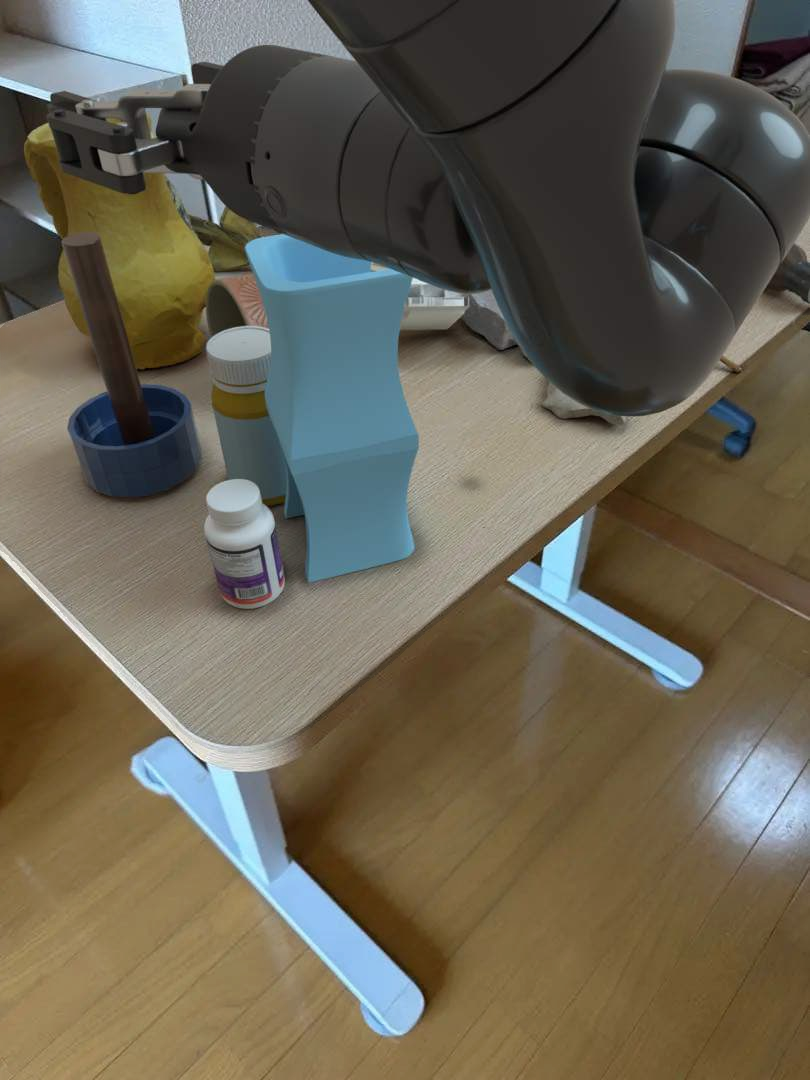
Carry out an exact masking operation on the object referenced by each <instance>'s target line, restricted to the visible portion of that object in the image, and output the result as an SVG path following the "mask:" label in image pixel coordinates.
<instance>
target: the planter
mask: <svg viewBox="0 0 810 1080" xmlns="http://www.w3.org/2000/svg"><path fill="white" fill-rule="evenodd" d="M205 315H206V323H207V327H208V333H209V337H210V339H211V338H212V337H213V336H214V335H216V334H218V333H219V332H222V331H224V330H227V329H230V328H235V327H241V326H260V327H265V328H268V329H269V326H268V321H267V316H266V313H265V309H264V305H263V302H262V298H261V295H260V292H259V289H258V286H257V283H256V280H255V277H254V275H253V272H251V273H246V274H240V275H239V274H238V275H234V276H229V277H224V278H218V279H216V280H214V281H212V282H211V283H210V285H209V287H208V289H207V294H206V307H205Z"/></svg>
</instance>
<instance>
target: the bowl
mask: <svg viewBox="0 0 810 1080" xmlns="http://www.w3.org/2000/svg"><path fill="white" fill-rule="evenodd" d="M140 384H141V383H140ZM141 387H142V391H143V394H144V398H145V402H146V405H147V409H148V413H149V416H150V420H151V424H152V427H153V431H154V434H155V438H154V439H151V440H147V441H144V442H141V443H138V444H132V445H124V444H123V441H122V438H121V434H120V431H119V428H118V425H117V421H116V418H115V415H114V412H113V408H112V405H111V402H110V399H109V395H108V392H107V390H106V391H104V392H101V393H99V394H98V395H95V396H93V397H91V398H89V399H87V400H86V401H85V402H84V403H82V404H80V405H79V406H77V408H76V409H75V410H74V411H73V412H72V414H71V415H70V417H69V419H68V423H67V427H66V428H67V433H68V435H69V437H70V440H71V443H72V446H73V449H74V452H75V454H76V456H77V460H78V463H79V465H80V468H81V471H82V474H83V476H84V478H85V481H86V483H87V485H88V486H89V487H91V488H92V489H93V490H95V491H96V492H97V493H101V494H103V495H106V496H110V497H114V498H115V497H116V498H117V497H118V498H141V497H147V496H152V495H156V494H160V493H162V492H165V491H167V490H170V489H171V488H174V487H175V486H177V485H179V484H181V483H183V482H184V481H186V480H187V479H188V478H189V477H190V476H191V475H192V474H194V472H195V471H196V470H197V468H198V466H199V464H200V463H201V461H202V445H201V442H200V438H199V437H200V436H199V434H198V430H197V425H196V420H195V417H194V412H193V408H192V404H191V402H190V400H189V399H188V396H186V394H184V393H183V392H181V391H179V390H177V389H175V388H173V387H169V386H165V385H161V384H147V383H146V384H144V383H143V384H141Z"/></svg>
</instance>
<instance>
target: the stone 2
mask: <svg viewBox="0 0 810 1080" xmlns="http://www.w3.org/2000/svg"><path fill="white" fill-rule="evenodd" d="M546 389H547V390H546V393H547V394H546V395H547V396H546V398H545V399H544V400H543V401H542V406H543V407H544V408H545V409H547V410H549V411H551V412H552V413H553V414H554V415H555V416H557V418H560V419H564V420H565V419H572V418H582V417H589V416H595V417H601V418H602V419H603V420H605V421H606V422H608V423H610V424H613V425H615V426H619V425H624V424H626V421H627V417H628V416H616V415H610V414H606V413H603V412H599V411H596V410H593V409H591V408H588V407H586V406H583V405H582V404H580V403H578V402H576V401H574V400H573V399H571V398H570V397H568V396H567V395H565V394H563V393H562V392H561V391H560V390H558V389H557V388H556V387H555V386H554V385H552V384H551V383H550V382H548V385H547V388H546Z"/></svg>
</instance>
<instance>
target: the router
mask: <svg viewBox="0 0 810 1080" xmlns="http://www.w3.org/2000/svg"><path fill="white" fill-rule="evenodd" d="M464 297H468V305H469V294H461V293H456V292H452V291H447V290H444V289H441V288H438V287H435V286H433V285H430V284H428V283H425V282H422V281H420V280H418V279H416V278H413V279H412V283H411V286H410V289H409V293H408V296H407V299H406V303H405V307H404V311H403V315H402V319H401V325H400V331H423V330H425V331H427V330H431V331H432V330H434V331H435V330H449V328H450V327H451V326H453V324H455V323H456V322H457V321H458V320H459V319H461V318H460V317H461V316H462V315H463V314H464V312H465V311H466V310H467V309H468V308H469V307H470V306H464ZM477 488H479V486H478V487H477Z"/></svg>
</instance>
